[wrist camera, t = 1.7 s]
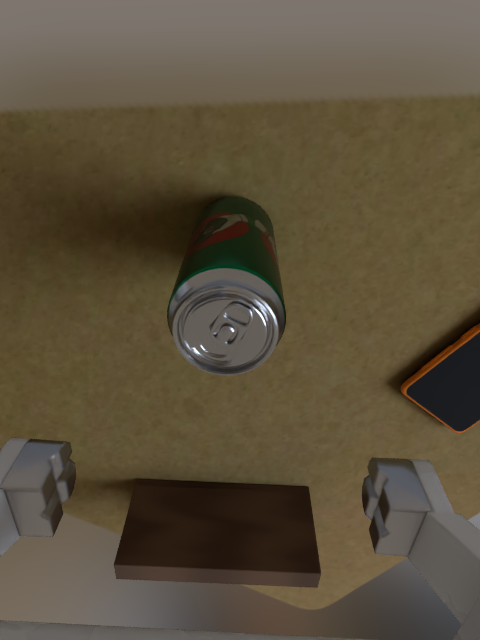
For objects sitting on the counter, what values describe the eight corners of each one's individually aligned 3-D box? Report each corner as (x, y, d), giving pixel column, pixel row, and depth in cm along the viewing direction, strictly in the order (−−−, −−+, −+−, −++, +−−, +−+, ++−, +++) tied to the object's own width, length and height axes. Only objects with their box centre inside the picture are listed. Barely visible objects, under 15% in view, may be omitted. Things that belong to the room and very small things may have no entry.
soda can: (181, 247, 28) (142, 352, 18) (217, 178, 26) (197, 253, 16) (248, 282, 29) (247, 399, 19) (288, 219, 27) (313, 314, 17)
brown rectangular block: (140, 512, 42) (119, 599, 36) (136, 478, 40) (113, 564, 33) (302, 520, 43) (312, 607, 36) (308, 486, 40) (321, 574, 33)
